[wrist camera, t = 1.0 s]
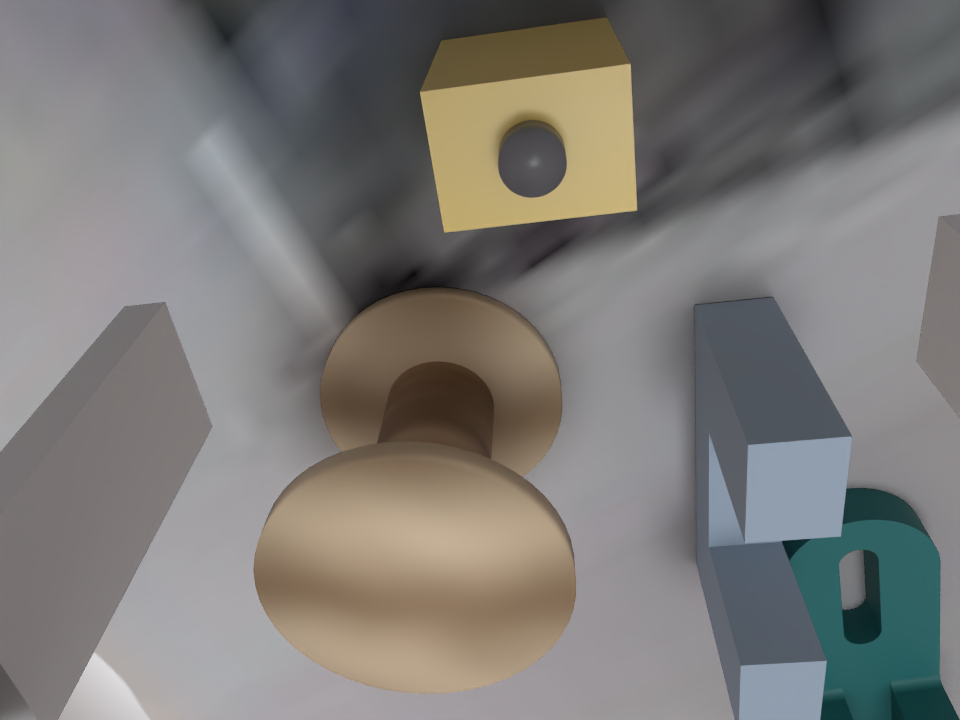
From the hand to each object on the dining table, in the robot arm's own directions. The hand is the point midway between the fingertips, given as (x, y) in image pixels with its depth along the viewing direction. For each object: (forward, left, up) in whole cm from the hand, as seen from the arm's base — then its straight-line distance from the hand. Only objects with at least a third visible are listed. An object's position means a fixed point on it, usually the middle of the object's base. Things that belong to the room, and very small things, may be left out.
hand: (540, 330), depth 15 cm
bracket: (+28, +13, -17) cm, 35 cm away
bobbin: (+12, -5, -16) cm, 21 cm away
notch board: (+16, +7, -16) cm, 24 cm away
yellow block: (0, 0, -17) cm, 17 cm away
